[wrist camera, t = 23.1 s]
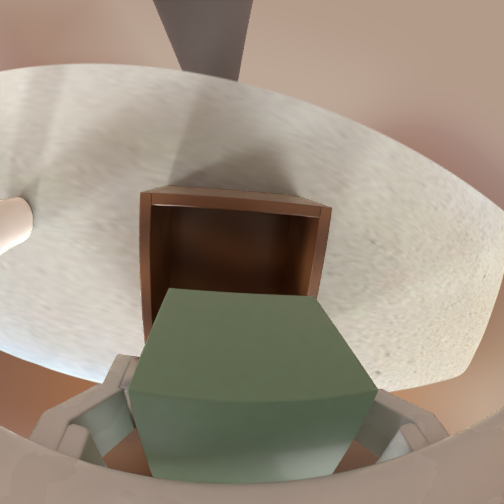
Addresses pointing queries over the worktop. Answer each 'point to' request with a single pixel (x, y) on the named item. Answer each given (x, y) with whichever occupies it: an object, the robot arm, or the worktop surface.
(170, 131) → the worktop surface
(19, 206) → the white tapered cylinder
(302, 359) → the block
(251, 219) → the chest
